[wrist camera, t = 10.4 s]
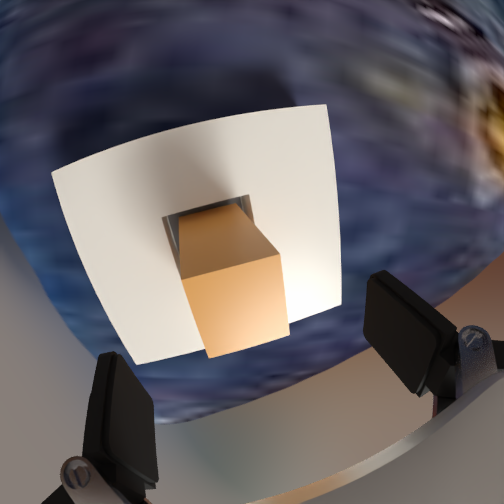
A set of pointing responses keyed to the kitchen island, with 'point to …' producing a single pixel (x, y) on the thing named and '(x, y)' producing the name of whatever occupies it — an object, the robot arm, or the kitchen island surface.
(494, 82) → the kitchen island surface
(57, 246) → the kitchen island surface
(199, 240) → the plug
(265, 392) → the kitchen island surface
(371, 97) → the kitchen island surface
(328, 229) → the socket block
